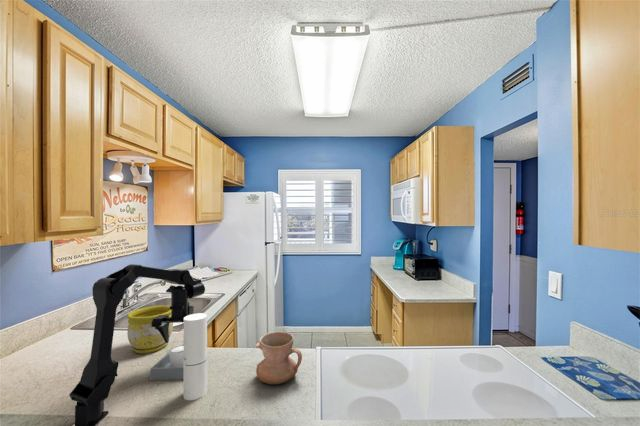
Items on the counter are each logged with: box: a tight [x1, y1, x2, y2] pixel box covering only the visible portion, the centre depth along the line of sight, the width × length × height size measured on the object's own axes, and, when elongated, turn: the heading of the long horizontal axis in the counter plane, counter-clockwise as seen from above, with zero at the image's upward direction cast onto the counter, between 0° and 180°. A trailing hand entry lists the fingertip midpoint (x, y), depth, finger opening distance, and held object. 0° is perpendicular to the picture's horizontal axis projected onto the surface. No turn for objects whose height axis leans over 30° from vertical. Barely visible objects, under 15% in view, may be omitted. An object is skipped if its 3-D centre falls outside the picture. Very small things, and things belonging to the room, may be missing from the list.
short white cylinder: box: [168, 344, 184, 367], centre depth 106 cm, size 7×7×7 cm
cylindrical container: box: [182, 312, 208, 401], centre depth 91 cm, size 7×7×25 cm
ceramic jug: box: [254, 331, 303, 385], centre depth 100 cm, size 18×14×14 cm
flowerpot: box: [126, 305, 174, 354], centre depth 126 cm, size 18×18×16 cm
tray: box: [149, 351, 183, 381], centre depth 106 cm, size 14×14×4 cm
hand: (179, 342), depth 107 cm, fingers open, 9 cm apart
